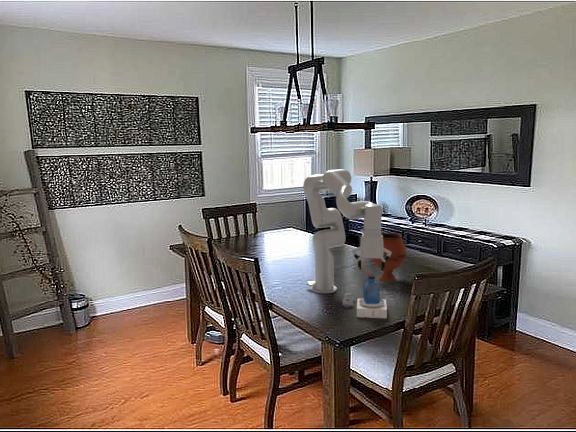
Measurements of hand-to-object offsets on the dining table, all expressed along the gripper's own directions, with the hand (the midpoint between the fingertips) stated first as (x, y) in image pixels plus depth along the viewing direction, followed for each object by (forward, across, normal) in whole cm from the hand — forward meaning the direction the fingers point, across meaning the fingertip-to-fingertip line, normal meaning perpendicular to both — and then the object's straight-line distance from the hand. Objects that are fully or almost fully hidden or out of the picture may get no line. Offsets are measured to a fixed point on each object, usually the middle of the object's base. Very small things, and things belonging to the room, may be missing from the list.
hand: (371, 269), depth 210 cm
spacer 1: (+21, -10, +13) cm, 26 cm away
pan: (+16, +1, -1) cm, 16 cm away
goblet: (+21, +10, +49) cm, 54 cm away
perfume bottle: (+15, +1, -1) cm, 15 cm away
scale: (+20, +1, -1) cm, 20 cm away
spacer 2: (+21, -10, +6) cm, 24 cm away
